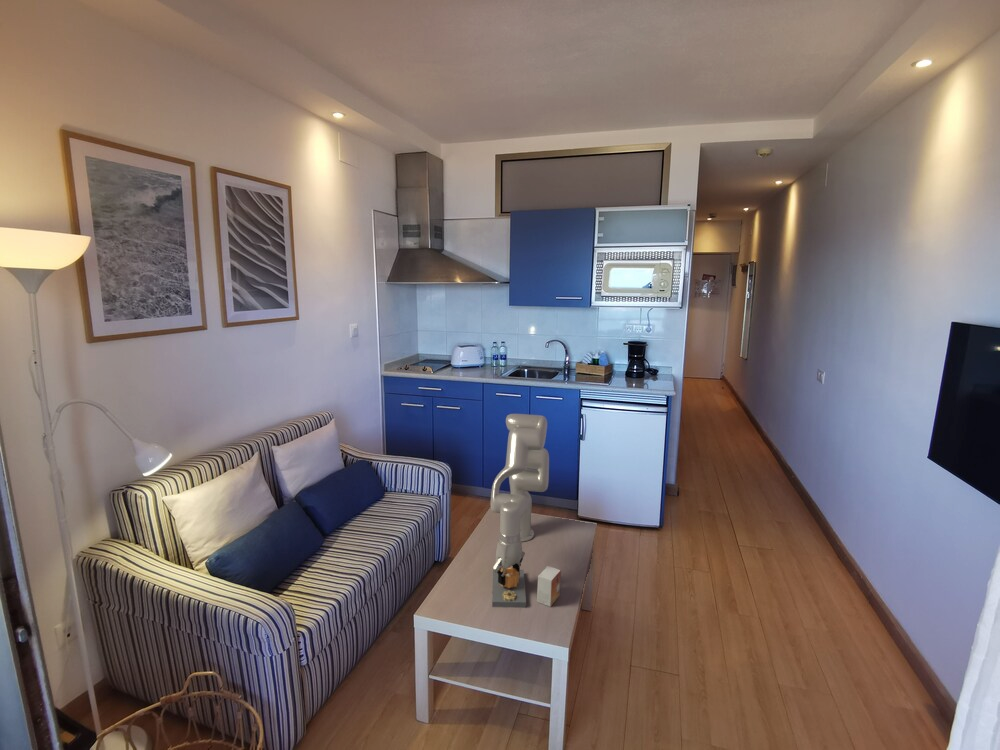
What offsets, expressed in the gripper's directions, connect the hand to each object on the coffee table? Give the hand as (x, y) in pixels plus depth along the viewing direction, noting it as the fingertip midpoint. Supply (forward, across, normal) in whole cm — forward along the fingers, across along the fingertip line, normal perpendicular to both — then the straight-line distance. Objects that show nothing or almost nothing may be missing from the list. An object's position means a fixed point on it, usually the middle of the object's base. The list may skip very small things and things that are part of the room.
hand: (508, 579), depth 184 cm
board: (+4, 0, 0) cm, 4 cm away
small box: (+5, -7, +14) cm, 16 cm away
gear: (+1, 0, 0) cm, 1 cm away
